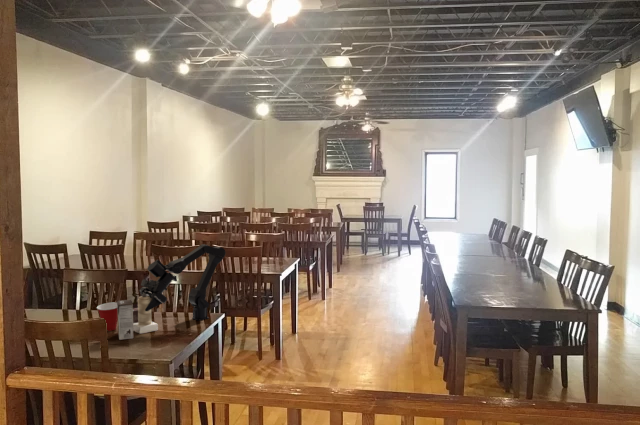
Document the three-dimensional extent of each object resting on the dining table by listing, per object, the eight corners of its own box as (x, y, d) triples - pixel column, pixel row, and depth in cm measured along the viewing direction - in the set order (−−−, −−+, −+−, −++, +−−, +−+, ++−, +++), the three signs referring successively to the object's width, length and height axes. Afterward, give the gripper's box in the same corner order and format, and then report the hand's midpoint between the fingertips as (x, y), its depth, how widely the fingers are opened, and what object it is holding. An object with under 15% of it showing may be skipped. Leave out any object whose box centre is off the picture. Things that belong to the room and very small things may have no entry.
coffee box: (117, 334, 247) (116, 300, 246) (132, 333, 249) (131, 299, 248) (118, 340, 238) (117, 304, 237) (133, 338, 241) (132, 303, 240)
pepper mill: (152, 321, 258) (151, 291, 257) (150, 325, 252) (150, 294, 251) (139, 322, 256) (138, 292, 255) (137, 325, 250) (136, 294, 250)
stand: (149, 326, 260) (149, 320, 260) (158, 330, 254) (157, 323, 254) (131, 329, 254) (131, 323, 254) (139, 333, 248) (139, 327, 248)
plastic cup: (92, 331, 252) (91, 306, 252) (108, 325, 263) (107, 301, 262) (110, 333, 249) (109, 308, 248) (126, 327, 259) (125, 303, 258)
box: (146, 321, 270) (146, 307, 269) (142, 324, 264) (142, 310, 263) (134, 322, 269) (133, 307, 269) (130, 325, 263) (130, 310, 263)
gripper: (142, 270, 262) (121, 296, 255) (159, 275, 248) (137, 302, 242) (158, 284, 268) (137, 309, 261) (175, 289, 254) (154, 316, 247)
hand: (141, 309), depth 253 cm, fingers open, 9 cm apart
